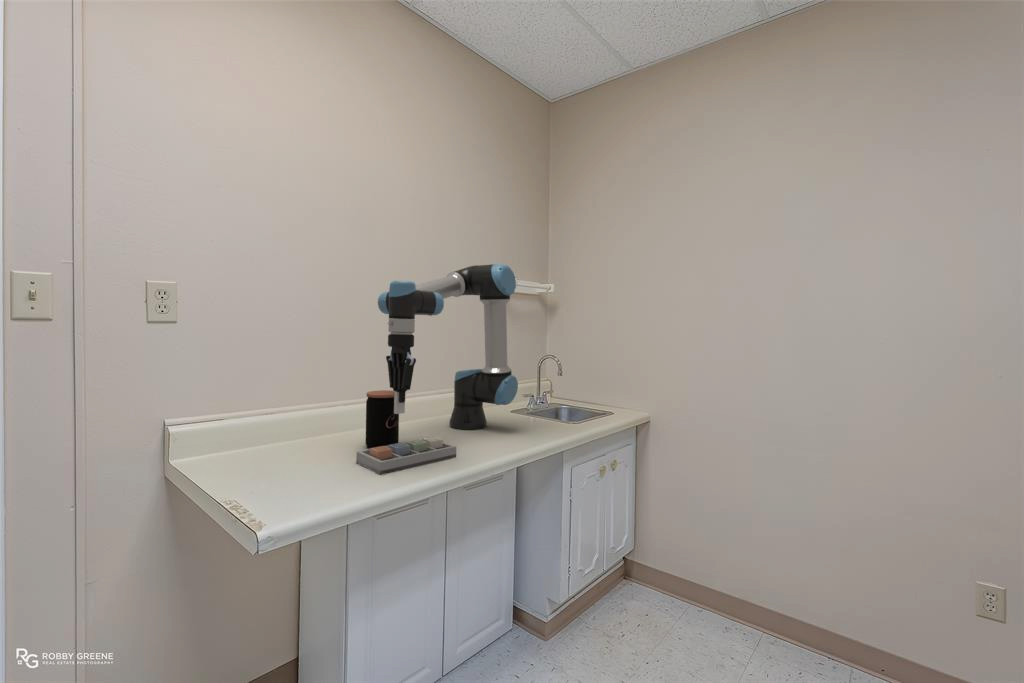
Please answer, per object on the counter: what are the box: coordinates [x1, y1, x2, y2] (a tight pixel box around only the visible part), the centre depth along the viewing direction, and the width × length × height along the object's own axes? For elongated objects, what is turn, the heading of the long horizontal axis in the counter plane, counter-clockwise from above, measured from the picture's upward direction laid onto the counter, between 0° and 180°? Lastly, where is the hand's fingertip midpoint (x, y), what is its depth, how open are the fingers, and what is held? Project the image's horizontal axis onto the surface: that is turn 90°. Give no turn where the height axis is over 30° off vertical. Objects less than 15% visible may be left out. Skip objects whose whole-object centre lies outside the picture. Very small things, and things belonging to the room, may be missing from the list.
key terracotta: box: [369, 446, 392, 460], centre depth 132 cm, size 5×5×3 cm
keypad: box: [355, 438, 457, 476], centre depth 139 cm, size 26×14×3 cm, turn 135°
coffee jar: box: [365, 389, 400, 449], centre depth 153 cm, size 11×11×18 cm
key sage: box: [405, 439, 427, 452], centre depth 141 cm, size 5×5×3 cm
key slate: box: [388, 442, 410, 456], centre depth 136 cm, size 5×5×2 cm
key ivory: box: [422, 436, 444, 449], centre depth 145 cm, size 5×5×2 cm
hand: (399, 413), depth 136 cm, fingers closed
